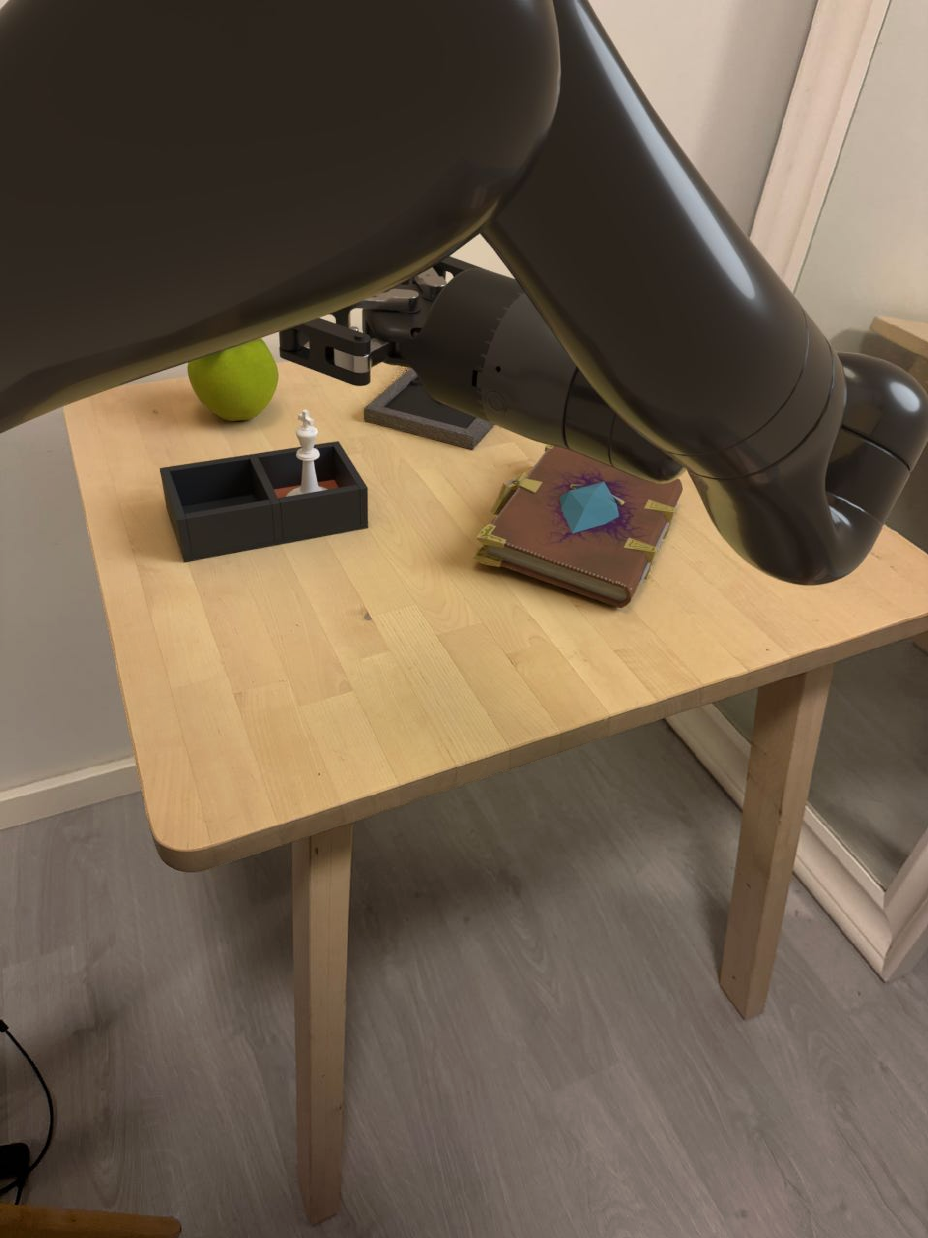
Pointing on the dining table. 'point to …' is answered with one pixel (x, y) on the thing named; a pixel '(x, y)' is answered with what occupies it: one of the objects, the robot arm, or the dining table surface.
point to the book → (580, 526)
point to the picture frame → (424, 414)
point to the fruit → (236, 380)
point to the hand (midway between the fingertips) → (306, 279)
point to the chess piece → (307, 455)
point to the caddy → (261, 501)
